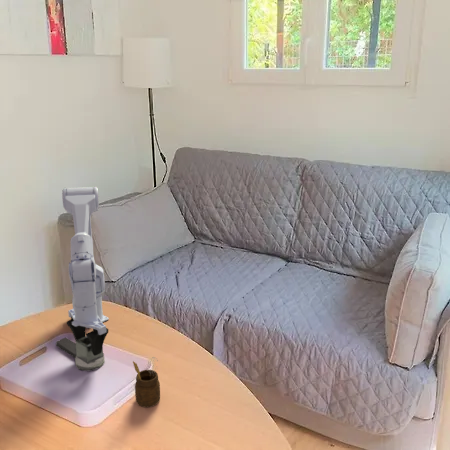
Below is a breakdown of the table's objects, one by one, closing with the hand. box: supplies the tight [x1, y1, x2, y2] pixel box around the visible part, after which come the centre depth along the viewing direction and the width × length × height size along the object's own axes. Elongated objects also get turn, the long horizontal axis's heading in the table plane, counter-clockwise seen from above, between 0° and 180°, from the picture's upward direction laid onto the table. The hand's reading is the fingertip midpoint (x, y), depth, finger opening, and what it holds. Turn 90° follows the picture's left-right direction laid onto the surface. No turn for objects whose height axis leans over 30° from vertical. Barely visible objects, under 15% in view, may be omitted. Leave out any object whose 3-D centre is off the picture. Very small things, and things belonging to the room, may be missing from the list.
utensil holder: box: [132, 356, 161, 408], centre depth 122 cm, size 6×6×12 cm
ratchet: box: [55, 337, 105, 372], centre depth 141 cm, size 18×8×4 cm, turn 48°
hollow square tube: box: [74, 335, 104, 364], centre depth 137 cm, size 5×5×5 cm
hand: (89, 348), depth 137 cm, fingers open, 7 cm apart
